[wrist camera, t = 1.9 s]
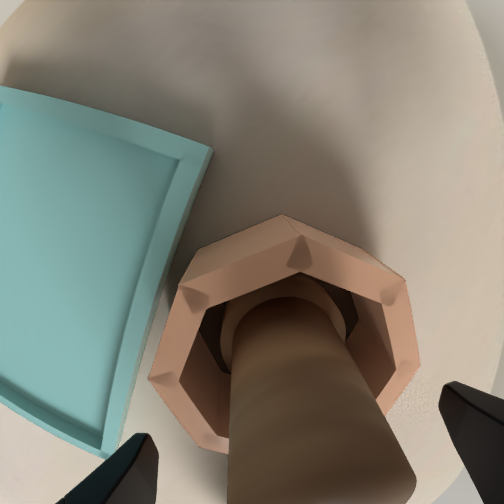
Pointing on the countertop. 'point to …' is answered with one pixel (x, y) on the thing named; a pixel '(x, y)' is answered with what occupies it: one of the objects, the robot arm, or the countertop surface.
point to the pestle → (303, 405)
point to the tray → (84, 257)
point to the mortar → (261, 274)
